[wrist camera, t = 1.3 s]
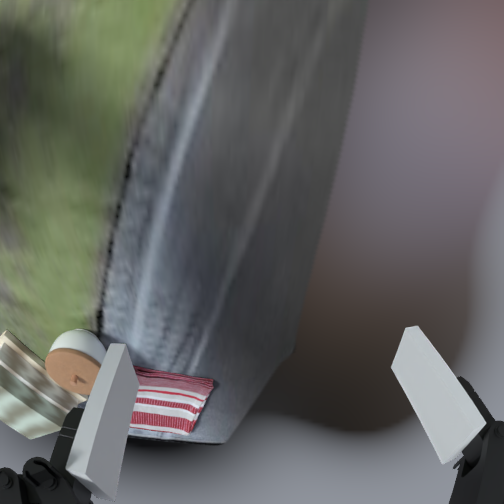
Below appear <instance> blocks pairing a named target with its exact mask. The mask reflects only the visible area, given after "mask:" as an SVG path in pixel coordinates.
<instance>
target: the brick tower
mask: <svg viewBox="0 0 504 504" xmlns="http://www.w3.org/2000/svg"><path fill="white" fill-rule="evenodd" d="M86 400H88V395H84V394H78V393H75V392H72V391H69V390H67V389H65V388H63V387H62V386H60V385H59V384H57V383H56V382H55V381H54V380H53V379H52V378H51V377H50V376H49V374H48V372H47V370H46V367H45V362H44V361H42V360H41V359H40V358H39V357H38V356H36V355H35V354H34V353H33V352H32V351H30V350H29V349H28V348H27V347H26V346H25V345H24V344H22V343H21V342H20V341H19V340H18V339H17V338H16V337H15V336H14V335H12V334H11V333H10V332H9V331H8V330H6V331H5V332H4V333H3V334H2V335H1V336H0V420H1V421H3V422H4V423H5V424H7V425H8V426H10V427H11V428H13V429H14V430H16V431H18V432H19V433H21V434H22V435H24V436H25V437H27V438H29V439H33V438H37V437H40V436H43V435H46V434H50V433H53V432H55V431H59V430H61V428H62V425H63V422H64V419H65V417H66V415H67V414H68V413H69V412H70V411H71V410H72V408H73V407H76V408H77V406H78V404H79V403H82V402H84V401H86Z"/></svg>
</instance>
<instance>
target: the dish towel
mask: <svg viewBox="0 0 504 504" xmlns="http://www.w3.org/2000/svg"><path fill="white" fill-rule="evenodd" d="M133 367H134V370H135V373H136V376H137V379H138V381H139V384H140V385H139V389H138V393H137V397H136V401H135V405H134V409H133V413H132V418H131V422H130V426H129V427H130V428H138V429H145V430H151V431H159V432H170V433H175V434H182V435H189V434H190V433H191V431H192V430H193V428H194V425H195V423H196V421H197V418H198V415H199V414H200V412H201V410H202V409H203V407H204V404H205V402H206V399H207V398H208V396H209V394H210V392H211V391H212V389H213V388H214V387H213V379H207V378H199V377H192V376H186V375H181V374H176V373H169V372H163V371H156V370H151V369H146V368H143V367H138V366H133Z"/></svg>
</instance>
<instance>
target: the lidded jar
mask: <svg viewBox="0 0 504 504" xmlns="http://www.w3.org/2000/svg"><path fill="white" fill-rule="evenodd" d="M106 353H107V352H106V350H105V348H104V346H103V344H102V343H101V342H100V341H99V339H98V338H97V336H96V335H94V334H93V333H92V332H90V331H88V330H85V329H74V330H70V331H66V332H64V333H63V334H61V335H60V336H59V337H58V338H57V339H56V340H55V341H54V343H53V345H52V347H51V349H50V351H49V353H48V355H47V357H46V360H45V367H46V370H47V372H48V374H49V376H50V377H51V378H52V379H53V380H54V381H55V382H56V383H57V384H59V385H60V386H62V387H63V388H65V389H67V390H69V391H72V392H75V393H78V394H84V395H90V393H91V391H92V388H93V385H94V383H95V380H96V378H97V375H98V373H99V370H100V368H101V365H102V363H103V360H104V358H105V355H106Z"/></svg>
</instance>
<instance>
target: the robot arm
mask: <svg viewBox="0 0 504 504" xmlns="http://www.w3.org/2000/svg"><path fill="white" fill-rule="evenodd" d="M391 368H392V370H393V372H394V373H395V375H396V377H397V379H398V381H399V383H400V384H401V386H402V388H403V389H404V392H405V393H406V395H407V397H408V399H409V401H410V403H411V404H412V406H413V408H414V410H415V412H416V414H417V416H418V417H419V419H420V421H421V423H422V425H423V427H424V429H425V431H426V433H427V435H428V437H429V439H430V441H431V443H432V445H433V447H434V448H435V451H436V453H437V455H438V457H439V459H440V461H441V463H442V464H444V463H447V462H449V461H451V460H453V459H455V458H456V457H457V456H458V455H459V454H460V453H461V452H462V453H463V455H464V456H463V457H462V458H461V459H460V460H459V461H458V462H457V463H456V464H455V465H454V467H453V469H455V468H456V467H457V466H458V465H459V464H460V466H459V468H458V474H457V478H456V481H455V485H454V488H453V492H452V495H451V498H450V501H449V504H504V422H503V421H495V419H494V418H493V417H492V415H491V414H490V412H489V411H488V409H487V408H486V406H485V405H484V403H483V402H482V400H481V399H480V398H479V396H478V395H477V393H476V392H474V389H473V387H472V386H471V385H470V383H469V382H468V381H466V380H465V379H464V378H463V377H461V376H460V377H457V378H456V377H455V375H454V374H453V372H452V371H451V370H450V368H449V367H448V366H447V364H446V363H445V362H444V360H443V359H442V357H441V356H440V355H439V353H438V352H437V351H436V349H435V348H434V347H433V345H432V344H431V343H430V341H429V340H428V339H427V337H426V336H425V335H424V333H423V332H422V331H421V330H420V328H419V327H418V326H414V327H408V328H405V331H404V334H403V337H402V340H401V342H400V346H399V348H398V350H397V353H396V356H395V359H394V361H393V364H392V366H391ZM139 385H140V384H139V381H138V379H137V376H136V373H135V370H134V367H133V364H132V361H131V358H130V355H129V352H128V349H127V346H126V344H118V343H111V344H110V346H109V348H108V351H107V353H106V355H105V358H104V360H103V363H102V365H101V368H100V370H99V373H98V375H97V378H96V380H95V383H94V385H93V388H92V391H91V393H90V396H89V399H88V401H87V404H86V407H85V409H81V408H76V407H73V408H72V410H71V411H70V412H69V413H68V414H67V415H66V417H65V419H64V422H63V425H62V428H61V430H60V433H59V436H58V438H57V441H56V444H55V447H54V450H53V453H52V456H51V459H50V462H49V461H47V460H46V459H44V458H41V457H34V458H31V459H29V460H28V461H27V462H26V463H25V465H24V467H23V471H22V472H23V474H17V473H16V472H14V471H13V470H12V469H10V468H5V467H4V468H1V469H0V504H93V502H92V501H91V500H90V498H91V493H92V494H94V495H95V496H96V497H97V498H100V499H105V500H109V501H114V502H115V498H116V492H117V486H118V481H119V475H120V469H121V465H122V460H123V455H124V449H125V445H126V440H127V435H128V431H129V426H130V422H131V418H132V413H133V409H134V405H135V401H136V397H137V393H138V389H139Z"/></svg>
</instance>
